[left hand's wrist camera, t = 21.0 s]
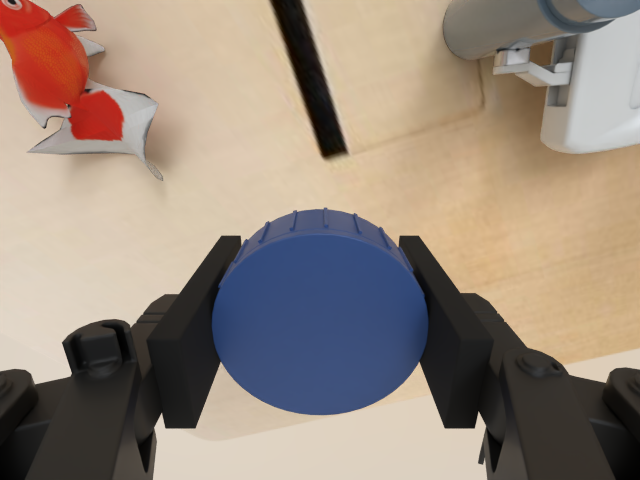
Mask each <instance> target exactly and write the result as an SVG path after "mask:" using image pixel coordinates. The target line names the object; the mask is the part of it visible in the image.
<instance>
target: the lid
mask: <svg viewBox="0 0 640 480" xmlns="http://www.w3.org/2000/svg"><path fill="white" fill-rule="evenodd" d="M412 271H413V269H412V267H411V265H410V263H409V261H408V259H407V258H406V256H405V254H404V252H403V250H402V249H401V247H397V246H396V244H395V243H394V242H393V241H392V240H391V239H390V238H389V236H388V235H387V234H385V232H384V230H383V228H382V227H380V228H378V227H377V226H375V225H373V224H372V223H370V222H368V221H367V220H365V219H362V218H360V217H358V216H357V214H355V213H354V214H353V215H352V214H349V213H345V212H341V211H335V210H327V208H324V210H323V209H315V210H305V211H300V212H297V210H295V211H293V213H291V214H288V215H285V216H283V217H280V218H278V219H276V220H274V221H272V222H269V221H268V222H266V224H265V226H264V227H262V228H261V229H260V230H258V231H257V232H256V233H255V234H254V235H253V236H252V237H251V238H250V239H249V240H247V239H246V240H245V241H244V243H243V245H242V246H241V248H240V250H239V252H238V254H237V256H236V258H235V259H234V261H233V262H231V264H230V266H229V268H228V269H227V271H226V273H225V275H224V277H223V279H222V280H221V282H220V284H219V286H218V288H220V289H219V292H218V294H217V297H216V299H215V302H214V307H213V312H212V332H213V340H214V345H215V348H216V351H217V354H218V356H219V358H220V360H221V362H222V364H223V365H224V367H225V369H226V370H227V372H228V373H229V374H230V375H231V377H232V378H233V379H234V380H235V381H236V382H237V383H238V384H239V385H240V386H241V387H242V388H243V389H245V390H246V391H247V392H249V393H250V394H251V395H253V396H254V397H256V398H258V399H259V400H261V401H263V402H265V403H267V404H269V405H272V406H274V407H277V408H280V409H283V410H286V411H290V412H295V413H299V414H308V415H332V414H340V413H346V412H351V411H354V410H358V409H361V408H364V407H366V406H369V405H371V404H373V403H375V402H377V401H379V400H381V399H383V398H385V397H386V396H387V395H389V394H390V393H392V392H393V391H395V390H396V389H397V388H398V387H399V386H400V385H401V384H403V383H404V381H405V380H406V379H407V378H408V377H409V376H410V375H411V373H412V372H413V371H414V369H415V368H416V366H417V365H418V363H419V361H420V359H421V357H422V355H423V352H424V349H425V346H426V342H427V335H428V327H429V317H428V311H427V305H426V302H425V299H424V297H425V295H424V293H423V291H422V289H421V287H420V285H419V283H418V281H417V280H416V278H415V276H414V274H413V272H412Z"/></svg>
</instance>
